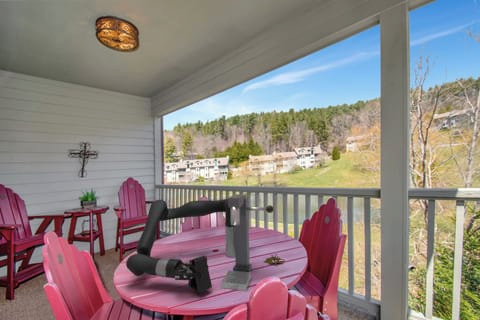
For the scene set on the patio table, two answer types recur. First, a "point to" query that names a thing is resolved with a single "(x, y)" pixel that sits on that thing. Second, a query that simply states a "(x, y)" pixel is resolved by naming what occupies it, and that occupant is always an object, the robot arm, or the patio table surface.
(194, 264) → the phone stand
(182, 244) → the patio table surface
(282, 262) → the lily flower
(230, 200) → the arbor press
